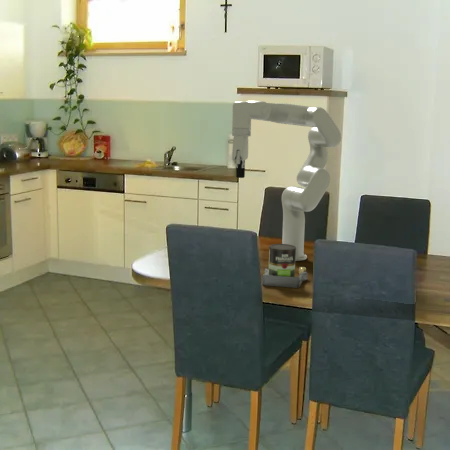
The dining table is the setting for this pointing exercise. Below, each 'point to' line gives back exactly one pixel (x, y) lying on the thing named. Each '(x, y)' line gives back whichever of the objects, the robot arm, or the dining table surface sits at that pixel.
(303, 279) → the bracket
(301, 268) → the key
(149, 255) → the dining table surface
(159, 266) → the dining table surface
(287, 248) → the coffee can
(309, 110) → the robot arm
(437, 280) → the dining table surface
